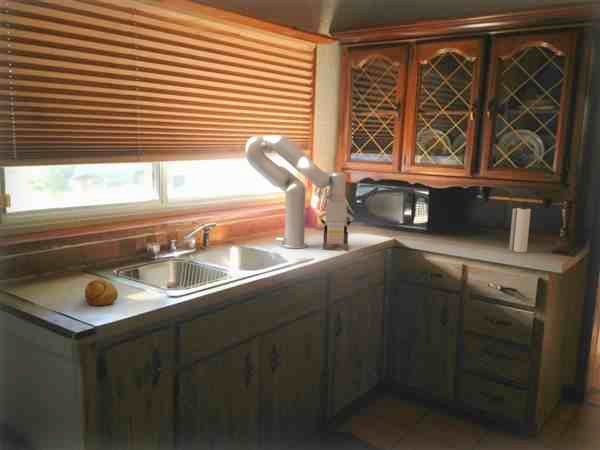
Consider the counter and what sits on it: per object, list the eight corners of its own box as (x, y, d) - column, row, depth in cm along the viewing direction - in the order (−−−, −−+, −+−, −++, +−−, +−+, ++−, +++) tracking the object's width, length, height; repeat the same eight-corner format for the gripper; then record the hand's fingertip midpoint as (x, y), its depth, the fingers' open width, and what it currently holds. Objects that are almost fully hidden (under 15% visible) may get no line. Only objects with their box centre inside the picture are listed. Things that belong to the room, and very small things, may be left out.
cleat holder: (322, 249, 257) (323, 235, 256) (323, 244, 269) (323, 231, 267) (347, 250, 256) (348, 236, 255) (347, 245, 268) (348, 232, 267)
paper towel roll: (528, 251, 264) (532, 208, 261) (523, 253, 260) (527, 209, 256) (514, 249, 269) (518, 207, 266) (508, 251, 265) (512, 208, 261)
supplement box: (343, 243, 265) (344, 217, 263) (343, 245, 260) (344, 218, 258) (326, 242, 265) (327, 216, 263) (326, 244, 261) (327, 218, 258)
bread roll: (82, 297, 176) (81, 274, 175) (113, 294, 180) (113, 271, 179) (87, 309, 165) (85, 284, 163) (120, 305, 169) (119, 281, 168)
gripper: (318, 198, 256) (317, 234, 259) (355, 199, 255) (353, 235, 258) (319, 196, 263) (317, 231, 266) (354, 197, 262) (353, 233, 265)
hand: (335, 233), depth 262 cm, fingers closed on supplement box, 8 cm apart
